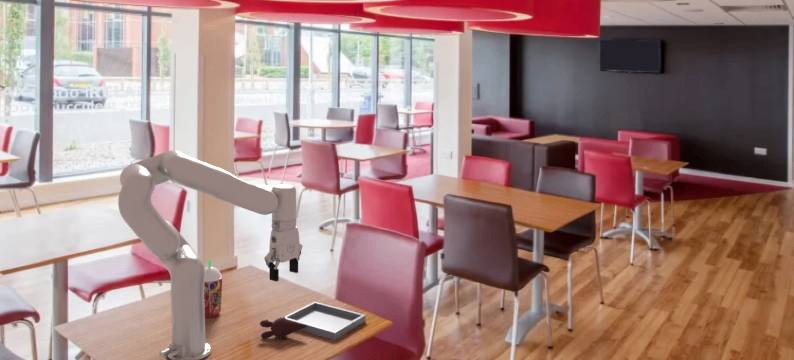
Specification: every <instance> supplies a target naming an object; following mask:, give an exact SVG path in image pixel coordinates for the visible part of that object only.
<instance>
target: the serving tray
mask: <svg viewBox="0 0 794 360" xmlns="http://www.w3.org/2000/svg"><path fill="white" fill-rule="evenodd" d="M283 317H285V318H286V320H290V321H294V322H298V323H302V324H306V325H307V327H305V328H303V329H300V330H299V331H303V332H305V333H309V334H313V335H314V336H315V335H316V336H319V337H322V338H325V339H328V340H329V339H330V340H333V341H336V340H338V339H340V338H341V337H343V336H344V335H346V334H348V333H350V332H351V331H353V330H355V329H356V328H358V327H359V326H361V325H363V324H365V323H366V320H367V319H366V318H367V317H366V314H363V313H360V312H357V311H356V312H355V311H353V310H349V309H344V308H341V307H336V306H333V305H329V304H326V303H322V302H318V301H313V302H311V303H309V304H307V305H305V306H303V307H301V308H298V309H297V310H295V311H292V312H291V313H288V314H286V315H285V316H283ZM283 317H281V318H283Z"/></svg>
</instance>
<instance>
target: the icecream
mask: <svg viewBox="0 0 794 360" xmlns="http://www.w3.org/2000/svg"><path fill="white" fill-rule="evenodd" d="M259 325H260V327H262V328H266V329H267V328H270V330H266V331H263V332H262V333H261V334H260V336H261V337H260V338H262V339H268V338H271V337H272V336H274V337H275V338H277V339H287V338H288V336H289V335H292V334H294V333H295V332H298V331H301V330H300V329H303V328H305V327H307V325H306V324H302V323H298V322H294V321H290V320H286V318H285V317H284V316H283V318H282V317H278V318H277V319H275V320H274V321H270V320H268V319H263V320H261V321H260V322H259Z"/></svg>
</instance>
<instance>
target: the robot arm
mask: <svg viewBox="0 0 794 360" xmlns="http://www.w3.org/2000/svg"><path fill="white" fill-rule="evenodd" d="M119 176H120V177H119V182H120V185H121V189H120V191H119V194H118V199H117V201H118V203H117V204H118V211H119V214H120V216H121V218H122V219H123V220H124V222H125V223H126V224H127V226H128V227H129V228H130V229H131V231H132V232H133V233H134V234H135V236H136V237H138V239H139V240H140V241H141V242H142V243H143V245H144V246H145V247H146V249H147V250H148V252H150V254H152V255H153V256H155V257H156V258H157V259H158V260H159V261H160V262H161V264H163V265H164V266H165V268H166V269H167V270H168V273H169V275H170V314H171V337H172V339H171V340H172V341H170V342H169V346H168V347H167V348H165V349H162V350H160V351H159V357H160V358H161V359H162V358H165V357H168V358H169V359H170V360H202V359H205V358H206V357H208V356H209V355H210V354H211V352H212V347H211V345H210V344H209V343H207V341H206V317H205V306H204V283H205V268H206V267H205V263H204V261H203V260H202V259H201V257H200V256H199V254H198V253H197V252H196V251H195V249H194V248H193V247H192V246H191V245H190V243H189V242H188V241H187V240H186V238H185V237H184V236H183V235H182V234H181V233H180V232H179V231H178V229H177V228H176V227H175V226H174V225H173V224H172V223H171V222H170V221H169V220H167V219H165V218H164V217H163V216H162V215H161V214H160V212H159V211H158V209H156V208H155V206H154V205H153V204H152V195H153V193H154V190H155V187H156V186H158V185H161V184H162V183H166V182H168V181H170V182H172V183H173V184H177V185H180V186H182V187H186V188H188V189H192V190H195V191H197V192H199V193H202V194H205V195H208V196H210V197H212V198H215V199H218V200H220V201H223V202H226V203H229V204H232V205H234V206H237V207H239V208H242V209H243V210H247V211H250V212H253V213H256V214H258V215H264V216H266V215H271V231H270V238H269V252H268V253H267V254H266V255H265V256H264V258H263V259H264V261H265V265H266V266H267V268H268V270H269V280H270V281H272V282H273V281H274V282H279V278H280V276H279V271H280V270H279V268H278V267H279V265H280V263H285V262H288V263H289V266H288V267H289V271H288V272H290V273H294V274H298V273H299V261H300V257H301V255H302V250H303V244H300V235H299V234H300V233H299V227H298V226H297V188H296V186H294V185H292V184H284V183H282V184H276V185H266V184H252V183H250V182H247V181H245V180H243V179H241V178H238V177H237V176H235V175H234V174H232V173H231V172H229V171H227V170H225V169H222V168H221V167H217V166H215V165H212V164H209V163H207V162H204V161H201V160H199V159H196V158H194V157H191V156H189V155H187V154H185V153H183V152H182V151H180V150H173V149H172V150H168V151H165V152H162V153H159V154H155V155H154V156H150V157H147V158H145V159H142V160H139V161H136V162H133V163H131V164H129V165H127V166H126V167H124V168H123V169H122V171H121V173H120V175H119ZM274 262H275V263H274Z"/></svg>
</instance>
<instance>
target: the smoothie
mask: <svg viewBox="0 0 794 360" xmlns="http://www.w3.org/2000/svg"><path fill="white" fill-rule="evenodd" d="M211 262H212V261H211V259H210V258H208V266H206V267H205V283H204V306H205V318H215V317H218V316H219V315H220V312H221V311H222V295H223V294H222V292H223V290H222V289H223V274H221V271H220V270H219V269H218V268H217V267H215V266H212V265H211Z"/></svg>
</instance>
